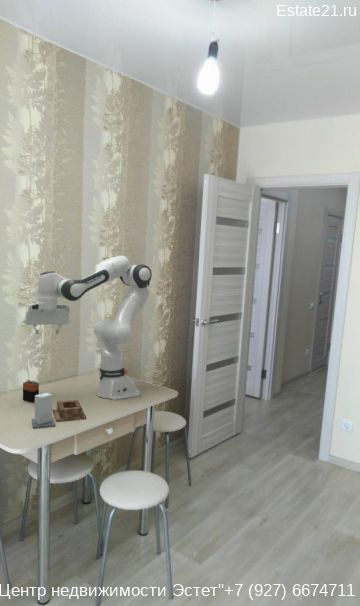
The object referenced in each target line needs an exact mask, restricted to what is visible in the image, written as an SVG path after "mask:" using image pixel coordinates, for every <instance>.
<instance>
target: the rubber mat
mask: <svg viewBox="0 0 360 606" xmlns="http://www.w3.org/2000/svg"><path fill="white" fill-rule="evenodd" d="M31 424H32V428H33V430H35V429H42V428H43V429H44V428H52V427H56V422H55V418H54V417H53V416H52V421H50V422H47V423H43V424H37V423H36V422H35V418H31Z"/></svg>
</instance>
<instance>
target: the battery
mask: <svg viewBox="0 0 360 606" xmlns="http://www.w3.org/2000/svg"><path fill="white" fill-rule="evenodd" d="M39 392H40V383H39V382H36V380H30V379H27V380H26V381H24V382H23V383H22V401H25V402H27V403H28V402H29V403H32V404H34V403H35V395H39V394H40V393H39Z"/></svg>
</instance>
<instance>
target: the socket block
mask: <svg viewBox="0 0 360 606" xmlns="http://www.w3.org/2000/svg"><path fill="white" fill-rule="evenodd" d="M52 414H53V416H54V420H55V421H56V422H55V423H59V422H60V423H61V422H69V421H81V420H82V421H83V420H87V415H86V413H85V412H84V410H83V407H82V405H81V403H80V401H79V399H73V400H59V401H58V400H57V402H56V409H52Z"/></svg>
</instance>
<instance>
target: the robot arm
mask: <svg viewBox="0 0 360 606" xmlns="http://www.w3.org/2000/svg"><path fill="white" fill-rule="evenodd" d="M152 274H153V273H152V269H151V268H150V267H149V266H148V265H146V264H133V265H132V264H131V262H130V260H129V258H128V257H127V256H125V255H116V256H113V257H109V258H106V259H104V260H102V261H100V262H98V263H97V264H95V266H94V270H93V273H92V274H89V275H87V276H85V277H84V278H80V279H70V278H67V277H64V276H62V275H61V274H59V273H57V271H54V270H52V271H49V270H48V271H44V272H42V273H40V274H39V277H38V282H37V283H38V286H37V287H38V288H37V290H38V297H37V301H35V302H32V303H28V306H27V307H28V309H27V310H26V312H25V318H24V321H25V324H26V325H27V326H32V327H33V329H34V330H35V331H34V333H35V335H39V334H40V333H39V332H40V330H39V329H37V328H36V327H37V325H38V326H41V325H44V326H45V325H46V326H48V325H57V326H58V327H57V329H55V335H57V334H60V330H61V328H62V325H68V324H69V323H70V317H69V314H70V311H71V310H70V306H68V305H66V304H64V305H62V304H58V298H63V299H66V300H68V301H70V302H76V301H78V300H80V299H81V298H83V296H84V295H85V294H86V293H87V292H89V291H90V290H93V289H95V288H96V287H99V286H101V285H102V284H106V283H108V282H111V281H113V280H116V279H118V278H119V279H120V281H121V283H123V284H124V285H125V286H129V287H130V288H129V291H128V293H127V294H126V295H125V296H124V298H123V299H122V300H121V302H120V303H119V304H118V306H117V307H116V317H115V318H114V319H113V320H111V319H100V320H98V321H96V323H95V324H94V326H93V333H94V335H95V336H96V339H97V342H98V347H99V353H100V367H99V384H98V389H97V391H96V395H97V396H98V397H100V398H104V399H109V400H122V399H129V398H134V397H135V398H136V397H140V395H141V392H140V390H139V389H137V387H136V383H135V381H134V380H133V379H132V378H131V377H129V376H128V375H127V374H128V373H129V370H127V369H126V368H124V367H123V352H122V351H121V348H120V345H126V344H128V343H129V342H130V341H131V340H132V336H133V332H132V327H133V323H134V321H135V319H136V318H137V317H138V315H139V313H140V312H141V311H142V309H143V308H144V306H146V305H145V304H146V303H147V301H148V299H149V297H150V291H149V288H148V287H149V286H150V283H151V279H152Z"/></svg>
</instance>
